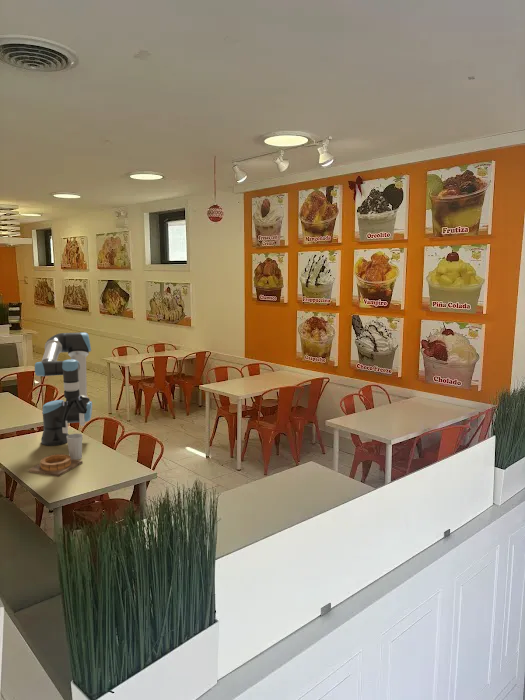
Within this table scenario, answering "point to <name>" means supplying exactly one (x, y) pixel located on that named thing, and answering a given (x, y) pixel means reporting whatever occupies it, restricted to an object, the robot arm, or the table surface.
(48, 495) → the table surface
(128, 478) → the table surface
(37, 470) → the collar board
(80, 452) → the cup
